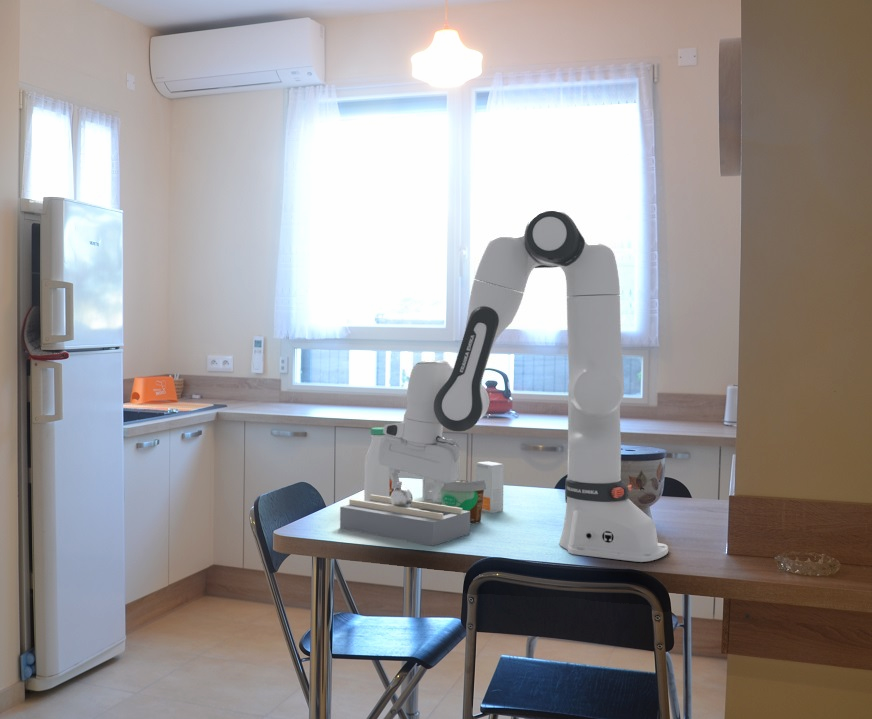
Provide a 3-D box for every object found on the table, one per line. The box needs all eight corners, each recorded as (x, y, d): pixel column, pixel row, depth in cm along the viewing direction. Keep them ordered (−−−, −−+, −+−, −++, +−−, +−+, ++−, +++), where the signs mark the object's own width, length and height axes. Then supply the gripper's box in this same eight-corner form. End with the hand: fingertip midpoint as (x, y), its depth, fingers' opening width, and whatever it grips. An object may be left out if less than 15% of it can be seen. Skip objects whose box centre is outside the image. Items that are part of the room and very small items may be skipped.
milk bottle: (383, 509, 218) (383, 430, 218) (358, 506, 222) (358, 428, 222) (400, 504, 225) (400, 427, 224) (375, 501, 229) (376, 425, 228)
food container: (427, 521, 205) (428, 479, 204) (439, 517, 210) (440, 475, 210) (475, 527, 199) (475, 484, 199) (486, 522, 204) (486, 480, 204)
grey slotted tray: (470, 533, 193) (470, 505, 193) (432, 546, 182) (433, 516, 181) (379, 518, 208) (379, 492, 208) (340, 528, 197) (340, 501, 197)
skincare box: (475, 509, 219) (475, 462, 219) (488, 507, 222) (488, 460, 222) (491, 513, 214) (491, 465, 214) (504, 511, 217) (504, 463, 217)
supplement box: (449, 498, 234) (449, 451, 234) (451, 503, 227) (451, 455, 226) (422, 498, 234) (422, 451, 233) (423, 503, 226) (423, 455, 226)
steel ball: (398, 490, 198) (410, 509, 197) (382, 498, 195) (394, 516, 193) (408, 480, 195) (420, 498, 194) (392, 487, 192) (404, 506, 190)
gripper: (469, 441, 187) (460, 504, 188) (395, 423, 199) (387, 483, 200) (452, 442, 182) (443, 507, 183) (377, 424, 194) (370, 485, 195)
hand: (413, 494), depth 191 cm, fingers open, 8 cm apart
